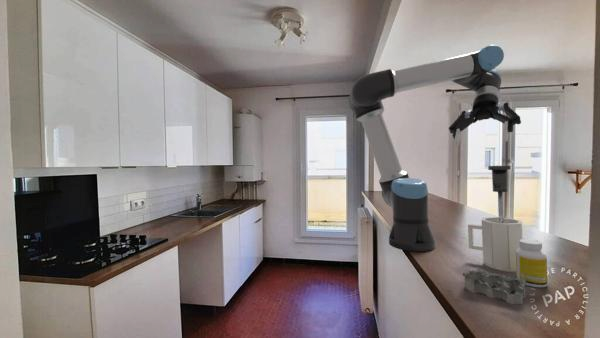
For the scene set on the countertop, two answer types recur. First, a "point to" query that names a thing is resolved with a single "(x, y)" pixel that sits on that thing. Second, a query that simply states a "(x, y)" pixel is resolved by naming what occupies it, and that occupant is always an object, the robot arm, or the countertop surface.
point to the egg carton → (483, 280)
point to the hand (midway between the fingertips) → (479, 141)
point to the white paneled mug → (498, 242)
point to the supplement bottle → (531, 263)
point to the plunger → (500, 185)
